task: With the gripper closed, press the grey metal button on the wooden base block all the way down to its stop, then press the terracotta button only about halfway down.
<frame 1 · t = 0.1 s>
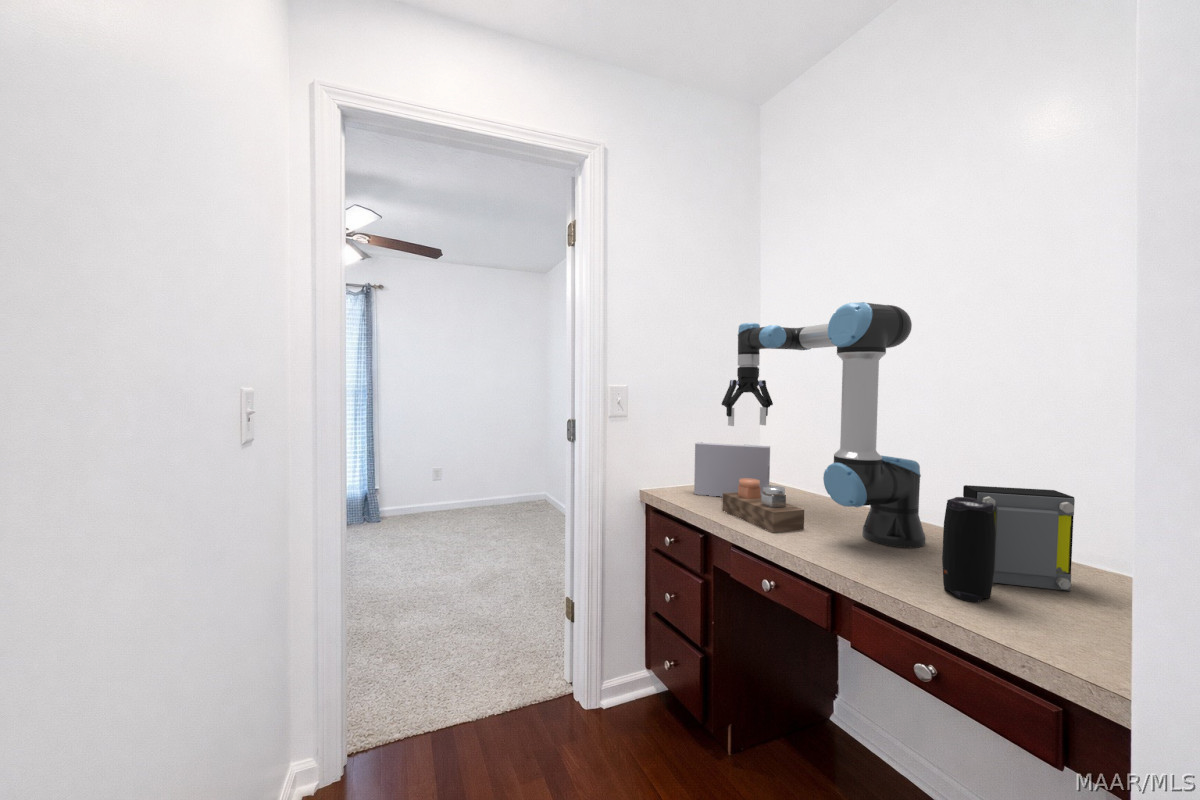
hand: (747, 425, 179), 28 cm above the table, tool pointing down, fingers open, 13 cm apart
terracotta button: (749, 488, 162), point 9 cm above the table, slide at 0.0 cm
metal button: (773, 496, 151), point 9 cm above the table, slide at 0.0 cm
wooden base block: (760, 519, 157), on the table
portable speaker: (966, 595, 102), on the table
electrical component: (1013, 581, 110), on the table
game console: (731, 497, 189), on the table
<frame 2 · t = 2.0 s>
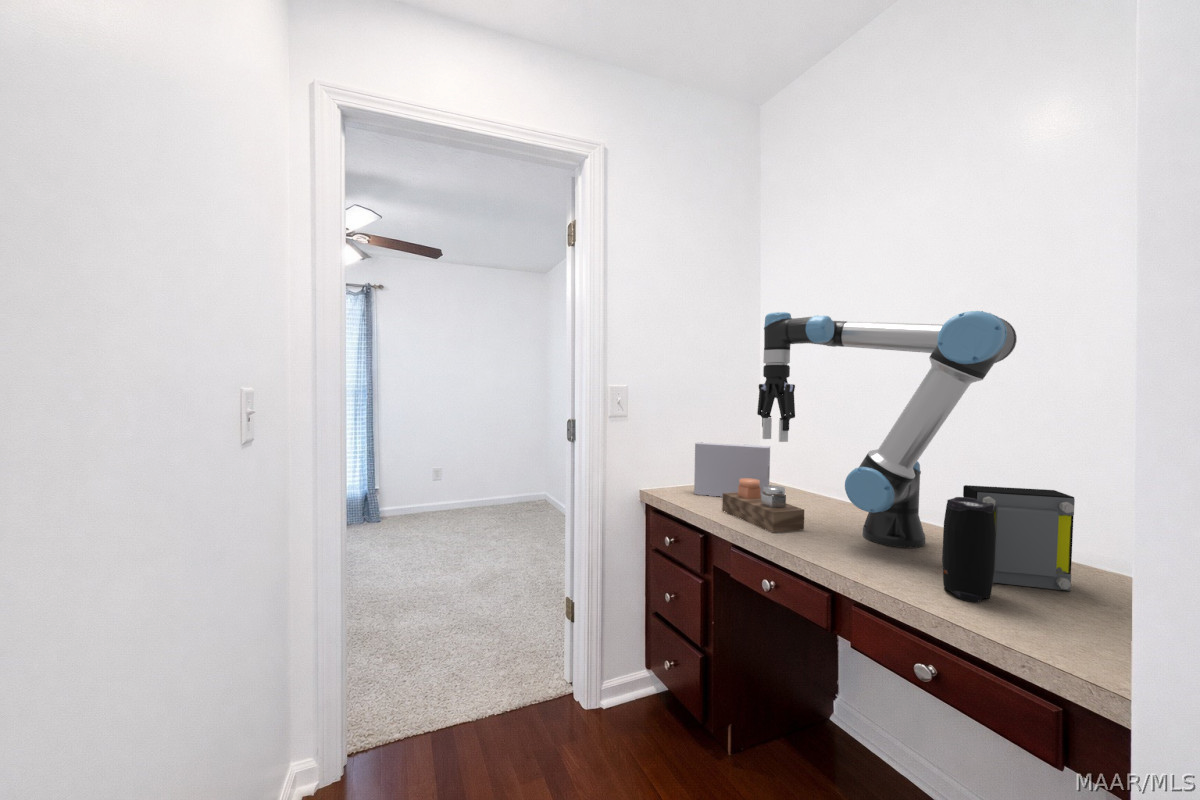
hand: (774, 440, 150), 26 cm above the table, tool pointing down, fingers open, 7 cm apart
nothing on the table moved.
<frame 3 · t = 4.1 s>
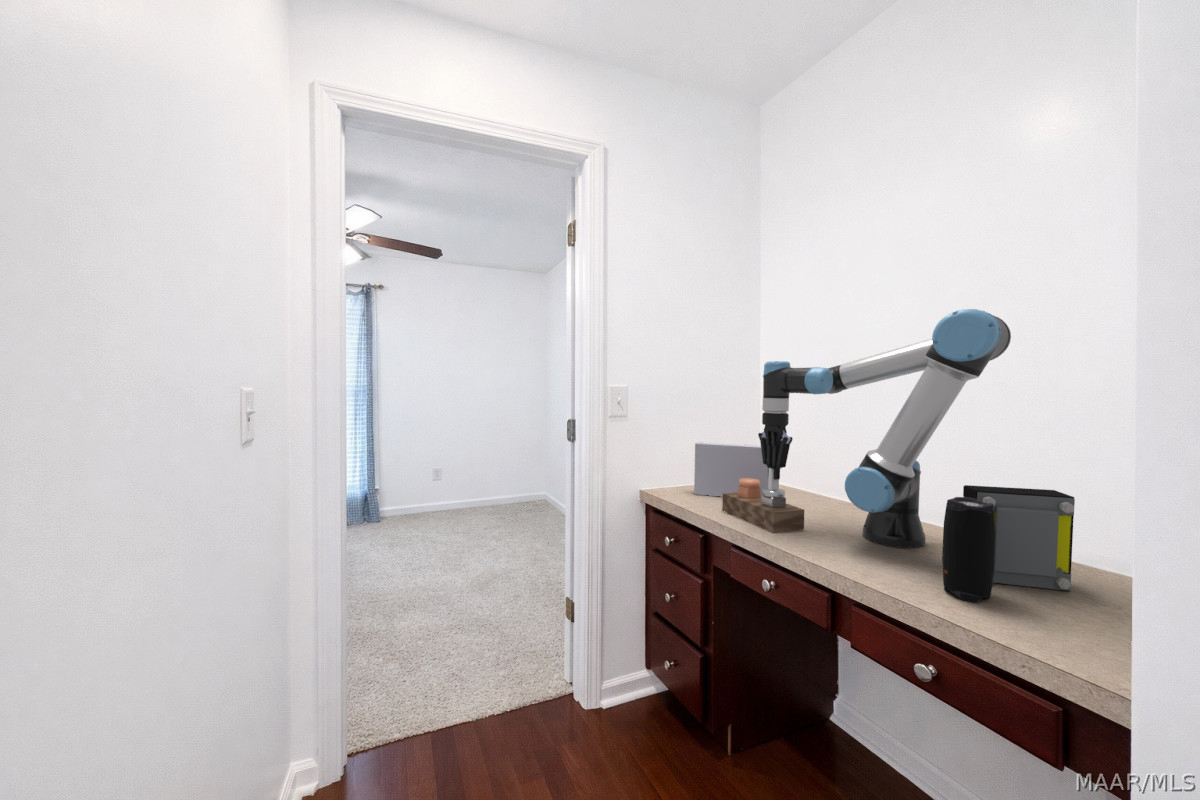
hand: (773, 489, 151), 11 cm above the table, tool pointing down, fingers closed
metal button: (773, 499, 151), point 8 cm above the table, slide at 0.8 cm, touching gripper
everything else where it was.
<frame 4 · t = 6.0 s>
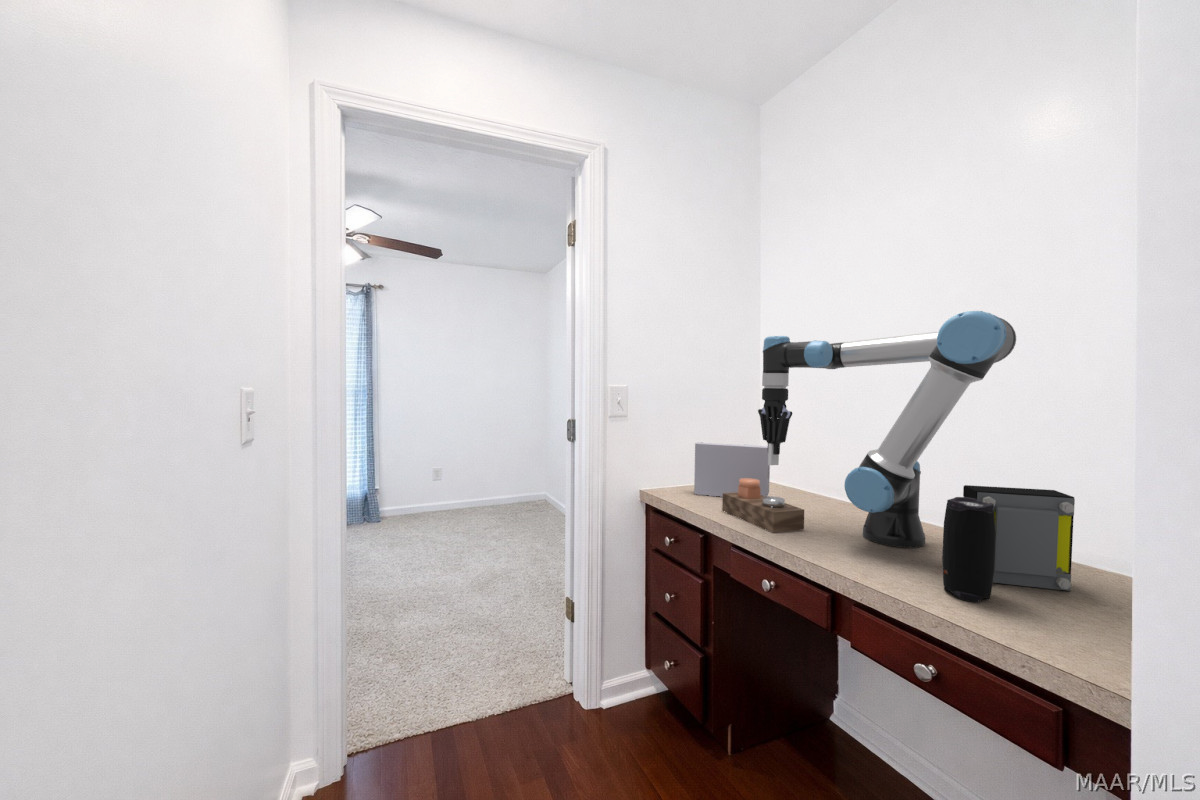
hand: (773, 464, 151), 18 cm above the table, tool pointing down, fingers closed
metal button: (773, 508, 151), point 5 cm above the table, slide at 3.5 cm
everything else where it was.
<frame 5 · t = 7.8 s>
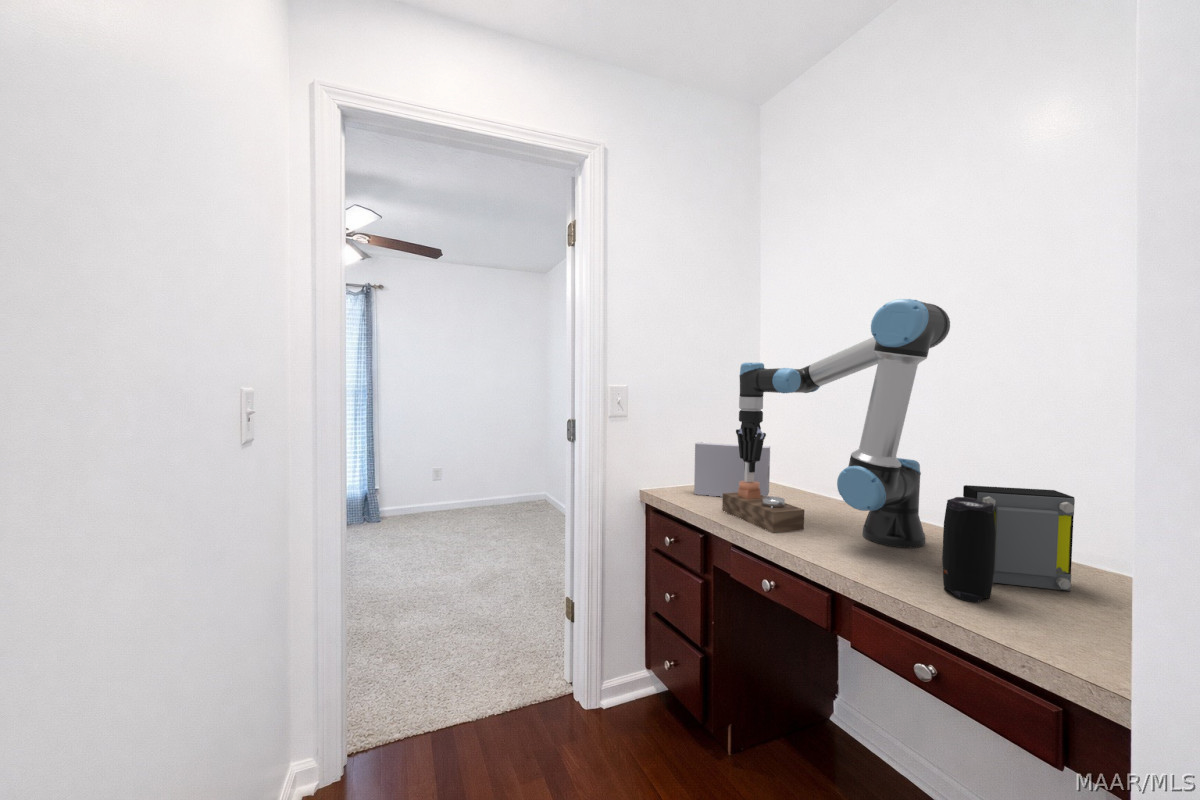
hand: (749, 481, 162), 11 cm above the table, tool pointing down, fingers closed
terracotta button: (749, 491, 162), point 8 cm above the table, slide at 0.8 cm, touching gripper
everything else where it was.
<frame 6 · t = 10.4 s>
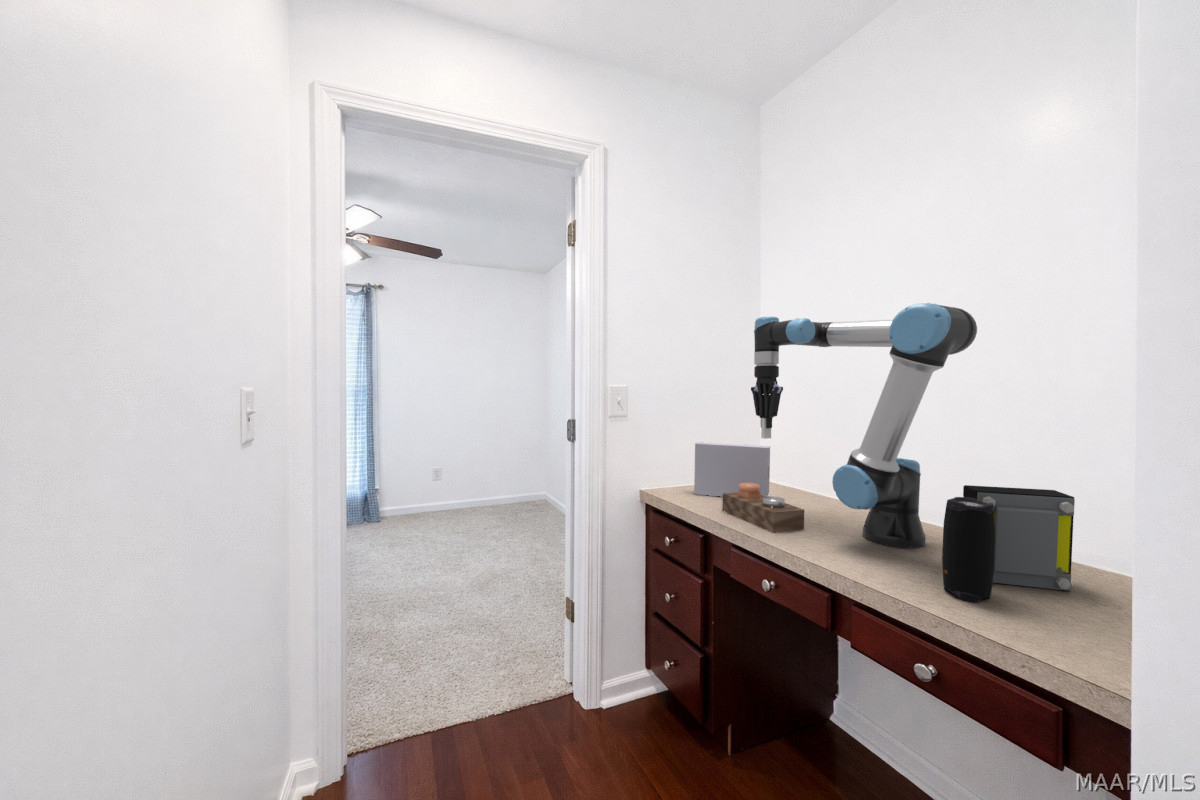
hand: (766, 438, 160), 26 cm above the table, tool pointing down, fingers closed
terracotta button: (749, 493, 162), point 7 cm above the table, slide at 1.5 cm
everything else where it was.
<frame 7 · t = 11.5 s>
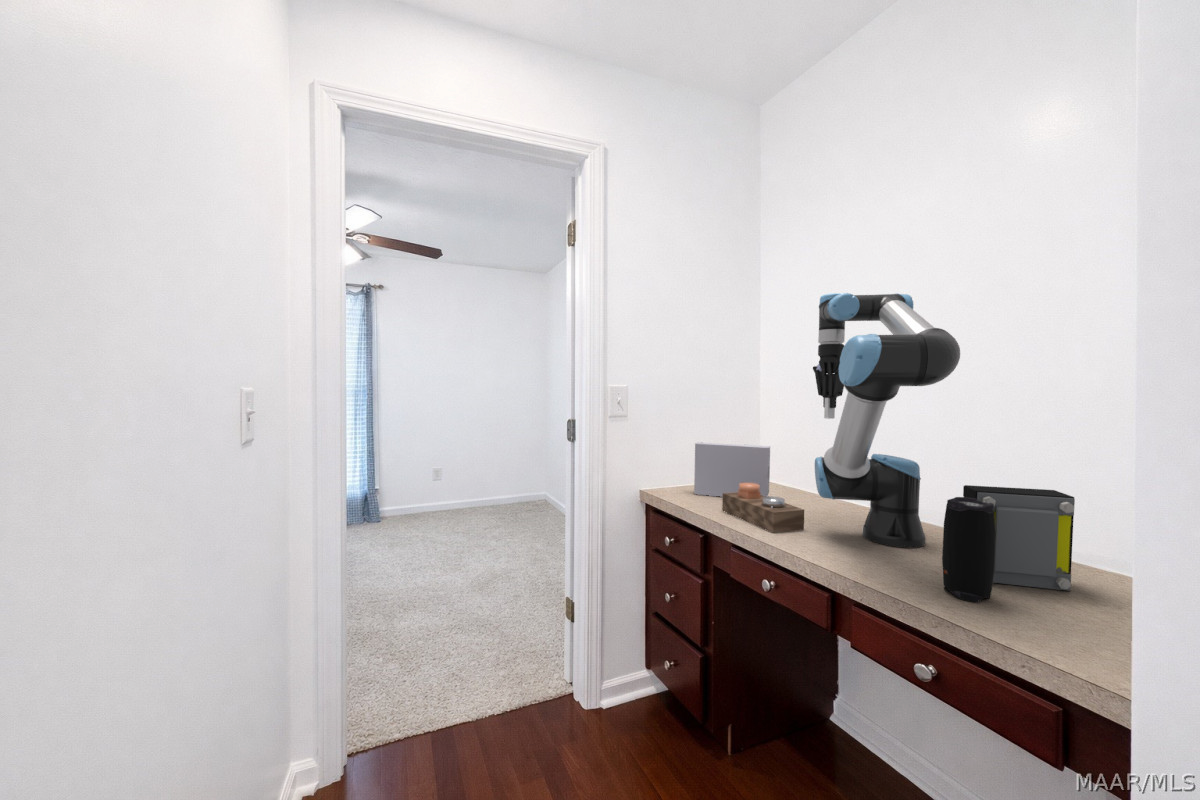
hand: (829, 418, 157), 32 cm above the table, tool pointing down, fingers closed
nothing on the table moved.
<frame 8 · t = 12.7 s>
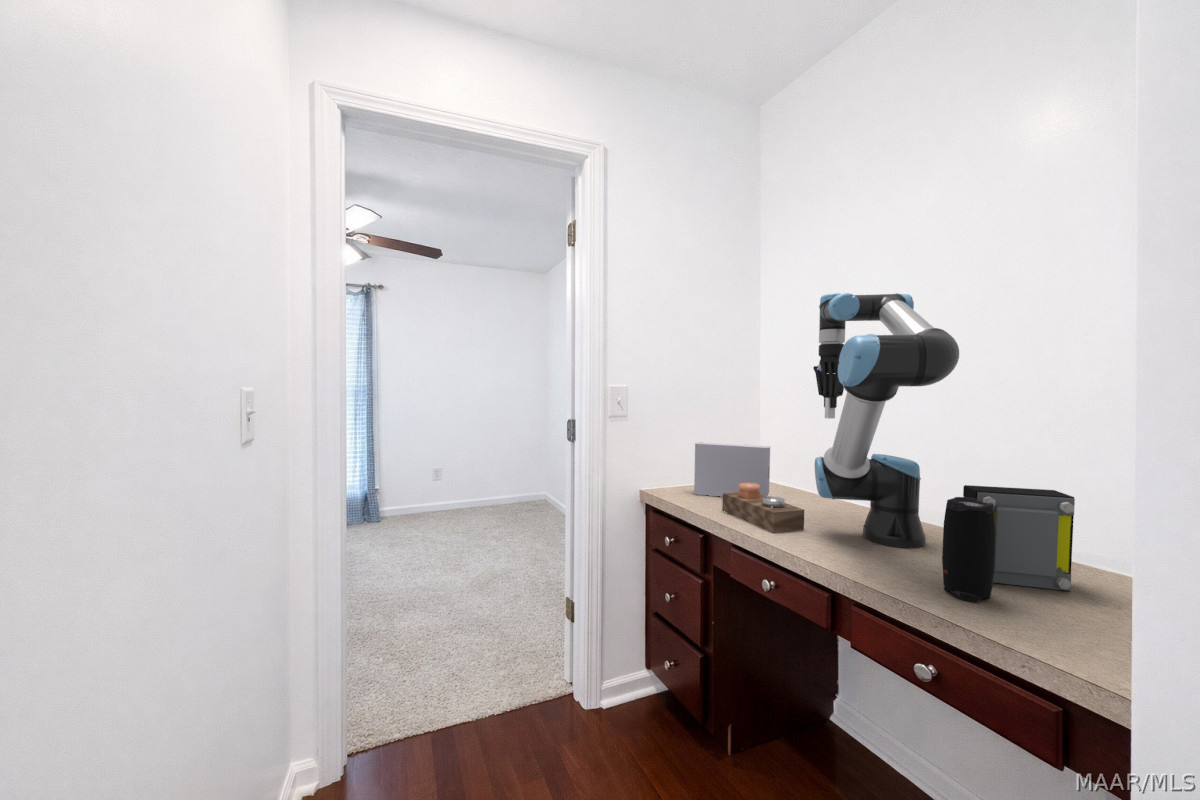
hand: (829, 418, 157), 32 cm above the table, tool pointing down, fingers closed
nothing on the table moved.
at the end: metal button slide at 3.5 cm; terracotta button slide at 1.5 cm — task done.
